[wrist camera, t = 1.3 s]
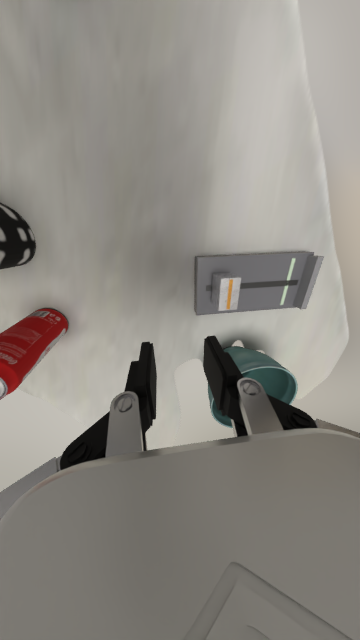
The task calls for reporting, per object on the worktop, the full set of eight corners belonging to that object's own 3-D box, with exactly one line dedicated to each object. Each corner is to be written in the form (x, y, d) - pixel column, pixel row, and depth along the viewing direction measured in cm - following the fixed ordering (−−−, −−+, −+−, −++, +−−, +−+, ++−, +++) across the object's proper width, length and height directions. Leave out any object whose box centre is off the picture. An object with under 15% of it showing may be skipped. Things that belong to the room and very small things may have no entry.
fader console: (195, 256, 27) (200, 259, 24) (304, 251, 29) (325, 253, 26) (194, 310, 32) (199, 319, 28) (289, 303, 34) (305, 311, 30)
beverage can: (26, 314, 28) (-92, 381, 15) (58, 300, 28) (-32, 356, 15) (50, 340, 31) (-32, 416, 18) (80, 328, 31) (20, 396, 17)
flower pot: (191, 344, 35) (203, 383, 26) (263, 324, 35) (302, 356, 26) (204, 392, 43) (217, 436, 33) (263, 375, 43) (294, 415, 33)
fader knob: (212, 273, 27) (221, 278, 23) (230, 272, 27) (241, 277, 23) (211, 302, 29) (218, 311, 25) (227, 300, 29) (237, 309, 26)
